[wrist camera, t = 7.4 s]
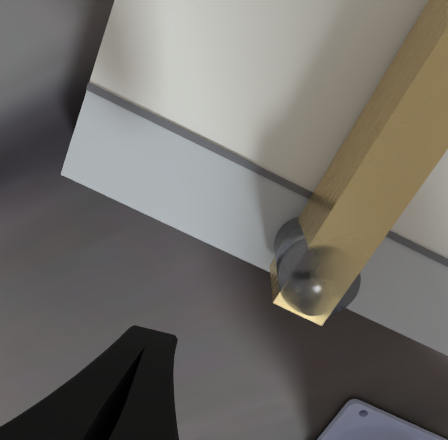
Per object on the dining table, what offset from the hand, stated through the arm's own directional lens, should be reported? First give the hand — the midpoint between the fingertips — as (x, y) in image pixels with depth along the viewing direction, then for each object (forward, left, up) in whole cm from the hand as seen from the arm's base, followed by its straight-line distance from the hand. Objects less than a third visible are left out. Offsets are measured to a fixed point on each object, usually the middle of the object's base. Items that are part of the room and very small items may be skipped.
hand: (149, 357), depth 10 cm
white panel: (-3, -8, -9) cm, 13 cm away
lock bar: (-4, -8, -6) cm, 11 cm away
